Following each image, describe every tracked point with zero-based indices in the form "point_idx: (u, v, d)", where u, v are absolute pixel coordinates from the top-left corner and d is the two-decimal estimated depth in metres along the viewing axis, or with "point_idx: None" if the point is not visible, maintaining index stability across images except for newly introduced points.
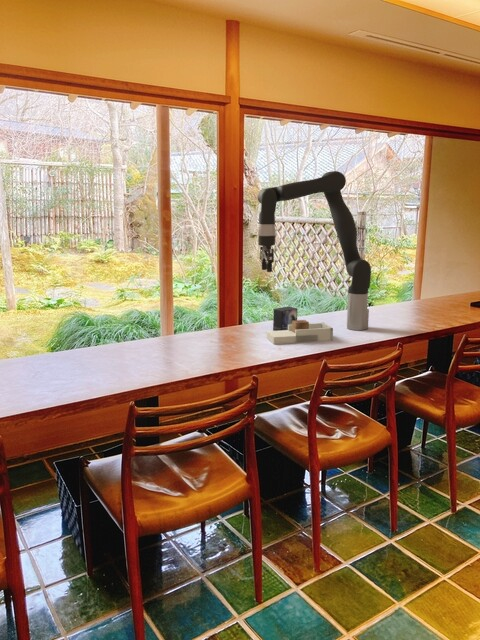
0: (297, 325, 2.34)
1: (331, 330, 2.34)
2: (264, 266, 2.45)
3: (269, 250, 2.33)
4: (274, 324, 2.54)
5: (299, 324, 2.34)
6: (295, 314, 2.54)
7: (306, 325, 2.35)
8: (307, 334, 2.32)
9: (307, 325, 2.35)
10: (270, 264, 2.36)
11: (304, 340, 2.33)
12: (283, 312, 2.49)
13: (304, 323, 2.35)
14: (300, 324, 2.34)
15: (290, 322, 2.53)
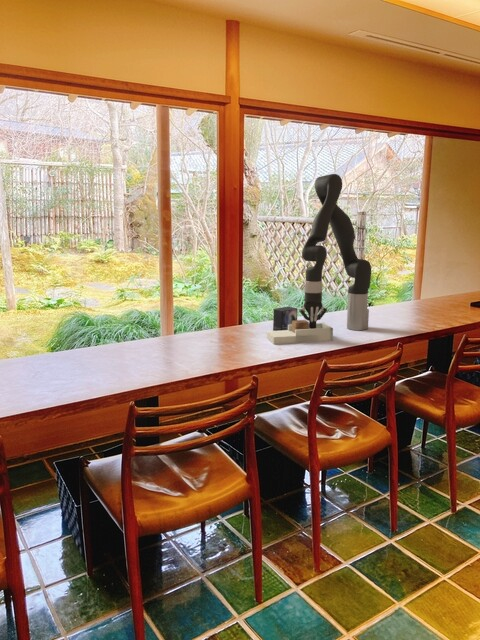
0: (297, 325, 2.34)
1: (331, 330, 2.34)
2: None
3: None
4: (274, 324, 2.54)
5: (299, 324, 2.34)
6: (295, 314, 2.54)
7: (306, 325, 2.35)
8: (307, 334, 2.32)
9: (307, 325, 2.35)
10: None
11: (304, 340, 2.33)
12: (283, 312, 2.49)
13: (304, 323, 2.35)
14: (300, 324, 2.34)
15: (290, 322, 2.53)
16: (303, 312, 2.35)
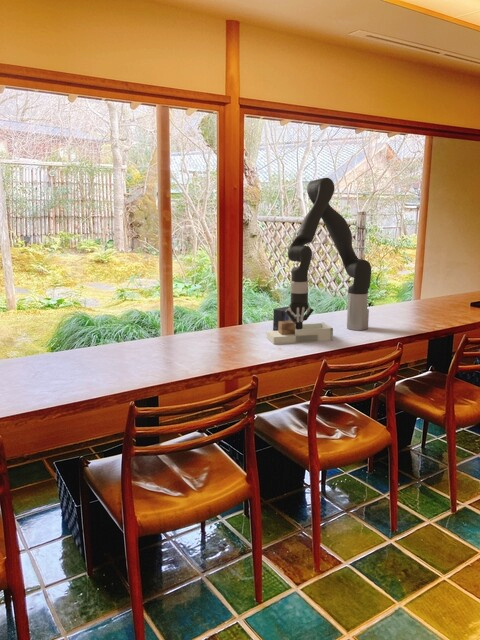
0: (283, 326, 2.33)
1: (331, 330, 2.34)
2: None
3: None
4: (274, 324, 2.54)
5: (285, 325, 2.33)
6: None
7: (292, 325, 2.34)
8: (307, 334, 2.32)
9: (293, 326, 2.34)
10: None
11: (304, 340, 2.33)
12: (283, 312, 2.49)
13: (290, 324, 2.33)
14: (286, 325, 2.33)
15: None
16: (289, 313, 2.33)
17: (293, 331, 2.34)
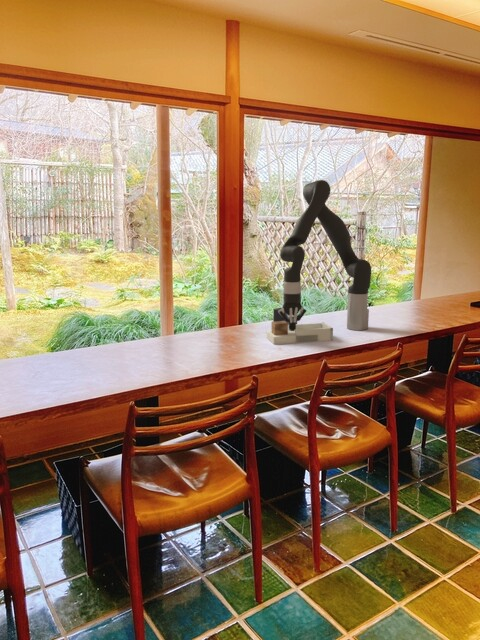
0: (276, 326, 2.32)
1: (331, 330, 2.34)
2: None
3: None
4: None
5: (278, 325, 2.32)
6: None
7: (285, 326, 2.33)
8: (307, 334, 2.32)
9: (286, 326, 2.33)
10: None
11: (304, 340, 2.33)
12: None
13: (283, 324, 2.33)
14: (279, 325, 2.32)
15: None
16: (282, 313, 2.33)
17: (286, 331, 2.34)
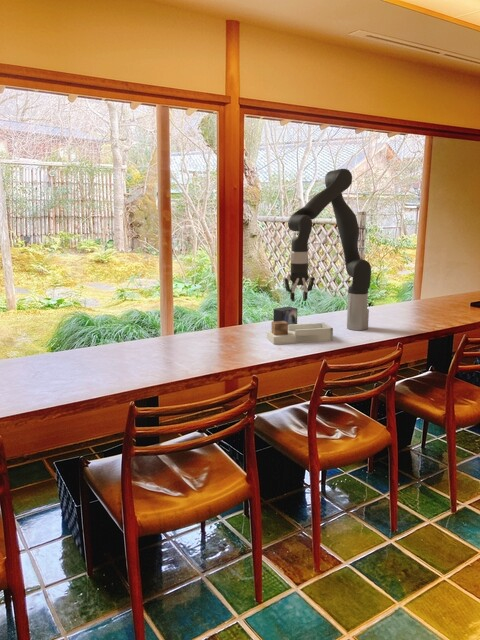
0: (276, 326, 2.32)
1: (331, 330, 2.34)
2: None
3: None
4: None
5: (278, 325, 2.32)
6: (295, 314, 2.54)
7: (285, 326, 2.33)
8: (307, 334, 2.32)
9: (286, 326, 2.33)
10: None
11: (304, 340, 2.33)
12: (283, 312, 2.49)
13: (283, 324, 2.33)
14: (279, 325, 2.32)
15: (290, 322, 2.53)
16: (287, 281, 2.30)
17: (286, 331, 2.34)
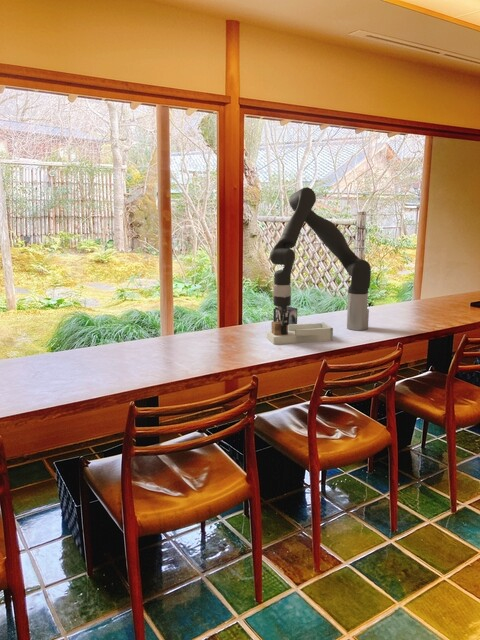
0: (276, 326, 2.32)
1: (331, 330, 2.34)
2: None
3: None
4: None
5: (278, 325, 2.32)
6: (295, 314, 2.54)
7: None
8: (307, 334, 2.32)
9: (286, 326, 2.33)
10: None
11: (304, 340, 2.33)
12: None
13: None
14: (279, 325, 2.32)
15: (290, 322, 2.53)
16: None
17: (286, 331, 2.34)
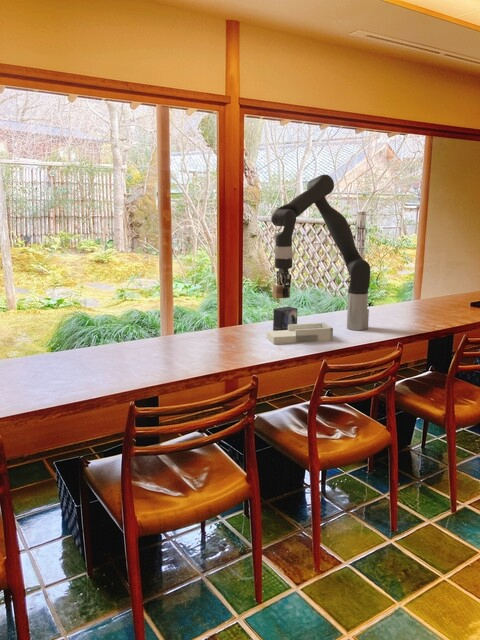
0: (278, 289, 2.29)
1: (331, 330, 2.34)
2: None
3: None
4: (274, 324, 2.54)
5: (280, 288, 2.29)
6: (295, 314, 2.54)
7: None
8: (307, 334, 2.32)
9: (288, 289, 2.30)
10: None
11: (304, 340, 2.33)
12: (283, 312, 2.49)
13: None
14: (281, 288, 2.29)
15: (290, 322, 2.53)
16: None
17: (288, 295, 2.30)
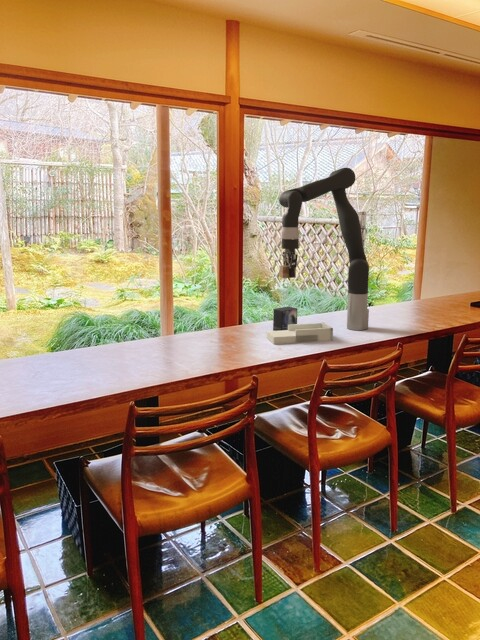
0: (284, 269, 2.35)
1: (331, 330, 2.34)
2: None
3: None
4: (274, 324, 2.54)
5: (286, 268, 2.35)
6: (295, 314, 2.54)
7: None
8: (307, 334, 2.32)
9: (294, 269, 2.36)
10: None
11: (304, 340, 2.33)
12: (283, 312, 2.49)
13: None
14: (287, 268, 2.35)
15: (290, 322, 2.53)
16: None
17: (294, 274, 2.36)
